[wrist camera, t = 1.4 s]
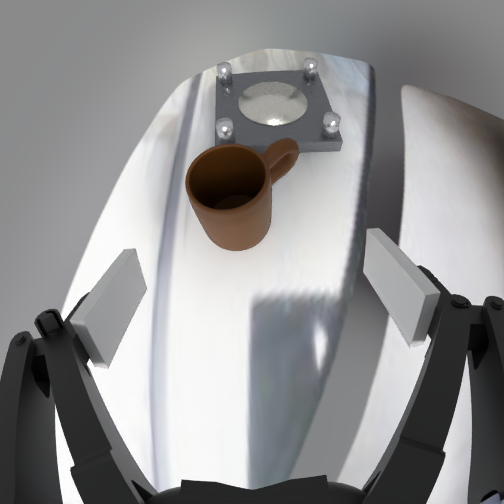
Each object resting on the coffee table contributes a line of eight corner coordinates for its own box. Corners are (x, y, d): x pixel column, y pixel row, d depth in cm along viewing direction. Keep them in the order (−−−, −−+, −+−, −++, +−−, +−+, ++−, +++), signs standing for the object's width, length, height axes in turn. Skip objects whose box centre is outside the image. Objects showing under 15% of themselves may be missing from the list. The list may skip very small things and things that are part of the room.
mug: (272, 163, 35) (272, 109, 26) (314, 205, 33) (327, 155, 24) (192, 217, 33) (168, 172, 24) (230, 267, 31) (214, 233, 22)
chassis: (315, 79, 41) (318, 56, 36) (339, 151, 35) (347, 126, 31) (218, 85, 41) (213, 61, 36) (217, 158, 36) (211, 133, 31)
